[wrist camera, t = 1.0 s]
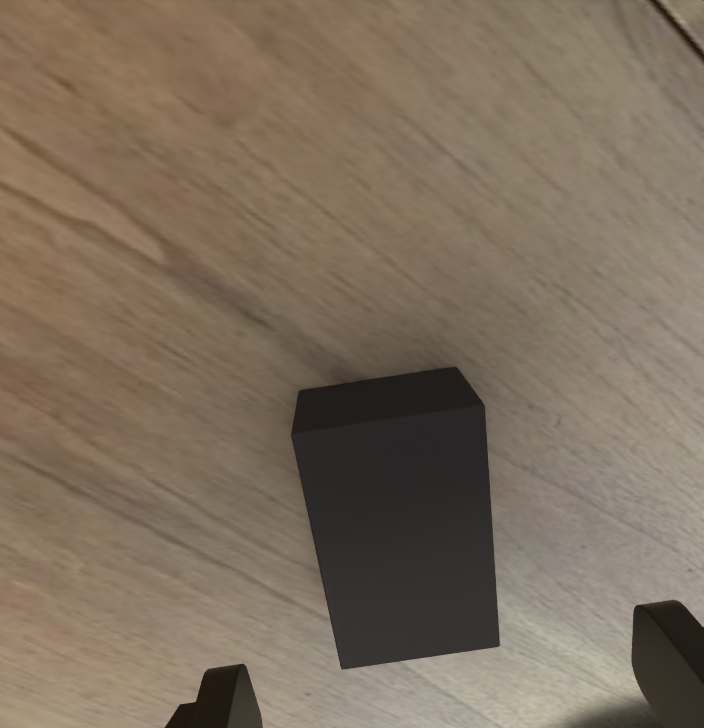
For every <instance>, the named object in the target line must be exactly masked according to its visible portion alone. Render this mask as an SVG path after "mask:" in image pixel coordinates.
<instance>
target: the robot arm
mask: <svg viewBox="0 0 704 728" xmlns="http://www.w3.org/2000/svg"><path fill="white" fill-rule="evenodd" d="M632 667H633V671H634V674H635V677H636V680H637V683H638V685H639V687H640V689H641V691H642V693H643V695H644V696H645V698H646V700H647V701H648V703H649V704H650V706H651V708H652V709H653V711H654V712H655V714H656V716H657V717H658V719H659V720H660V722H661V723H662V725H663V727H664V728H704V627H702V626H701V624H700V623H699V622H698V621H697V620H696V619H695V618H694V616H693V615H692V614H691V613H690V612H689V611H688V610H687V608H686V607H685V606H684V605H683V604H681V603H680V602H678V601H676V600H668V601H662V602H655V603H649V604H642V605H637V606H636V607H635V608H634V615H633V636H632ZM165 728H263V727H262V718H261V713H260V710H259V706H258V703H257V700H256V697H255V693H254V690H253V687H252V683H251V680H250V677H249V674H248V670H247V668H246V666H245V664H238V665H231V666H224V667H218V668H211V669H207V670H206V672H205V673H204V676H203V679H202V682H201V686H200V689H199V693H198V697H197V700H196V702H194V703H187V704H180V705H179V707H178V708H177V710H176V711H175V713H174V714H173V716H172V717H171V719H170V721H169V722H168V724H167V725H166V727H165Z"/></svg>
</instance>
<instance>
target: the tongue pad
mask: <svg viewBox="0 0 704 728" xmlns="http://www.w3.org/2000/svg"><path fill="white" fill-rule="evenodd" d="M291 436H292V441H293V446H294V450H295V455H296V460H297V464H298V469H299V474H300V478H301V483H302V488H303V493H304V497H305V502H306V507H307V511H308V516H309V521H310V525H311V530H312V535H313V539H314V544H315V549H316V553H317V558H318V563H319V567H320V572H321V577H322V582H323V586H324V591H325V596H326V600H327V605H328V610H329V614H330V619H331V624H332V628H333V633H334V638H335V642H336V647H337V652H338V656H339V661H340V666H341V669H350V668H357V667H363V666H370V665H377V664H384V663H391V662H398V661H404V660H411V659H418V658H425V657H432V656H439V655H445V654H452V653H459V652H466V651H473V650H480V649H486V648H493V647H499V646H500V641H499V625H498V609H497V593H496V578H495V562H494V546H493V530H492V514H491V498H490V482H489V466H488V451H487V435H486V419H485V405H484V404H483V402H482V401H481V399H480V398H479V397H478V395H477V394H476V393H475V391H474V390H473V389H472V387H471V386H470V384H469V383H468V382H467V380H466V379H465V378H464V376H463V375H462V374H461V372H460V371H459V369H458V368H457V367H453V368H447V369H440V370H434V371H427V372H421V373H414V374H408V375H401V376H394V377H388V378H381V379H375V380H368V381H362V382H355V383H349V384H342V385H336V386H329V387H323V388H316V389H310V390H303V391H299V393H298V398H297V404H296V410H295V416H294V422H293V427H292V433H291Z"/></svg>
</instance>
